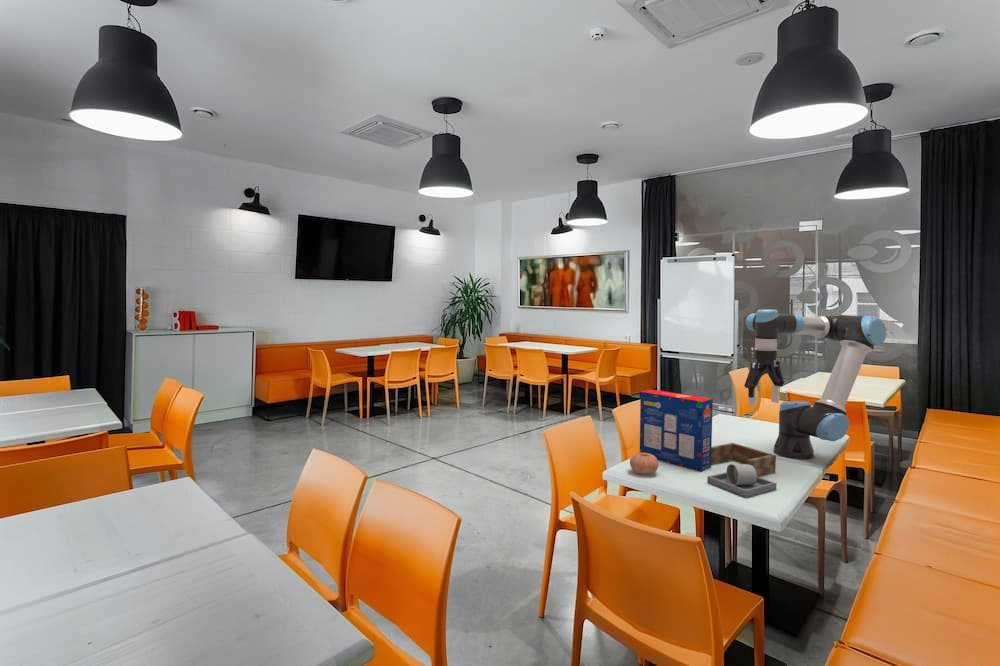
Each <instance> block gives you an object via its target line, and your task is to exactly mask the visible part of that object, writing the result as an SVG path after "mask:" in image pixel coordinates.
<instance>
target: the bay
mask: <svg viewBox="0 0 1000 666" xmlns="http://www.w3.org/2000/svg"><path fill="white" fill-rule="evenodd" d="M729 462H736V463H737V464H748V465H752V466H753V467H754V468H755V469H756V471H757V475H758V477H760V478H763V477H765V476H769V475H774V474H776V470H777V469H776V467H777V466H776V465H777V454H776V455H775V454H772V453H769V452H765V451H763V450H758V449H755V448H752V447H748V446H744V445H741V444H739V443H735V442H729V443H724V444H719V445H714V446H711V466H715V465H719V464H724V463H729Z"/></svg>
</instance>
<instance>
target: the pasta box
mask: <svg viewBox="0 0 1000 666" xmlns="http://www.w3.org/2000/svg"><path fill="white" fill-rule="evenodd" d="M639 399H640V401H639V403H640V407H639V408H640V409H639V414H640V415H639V453H649V454H652V455H654V456H655V457H656V458H657V460H658V462H662V463H666V464H670V465H673V466H677V467H679V468H680V467H681V468H683V469H688V470H690V471H695V472H699V473H702V472H705V471H706V470H709V469H711V468H712V465H711V447H713V446H712V443H713V442H712V441H713V436H712V435H713V403H714V402H713V400H714V399H713V398H710V397H702V396H696V395H691V394H682V393H677V392H671V391H664V390H658V389H647V390H646V389H645V390H641V391H640V397H639Z"/></svg>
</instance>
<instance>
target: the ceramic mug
mask: <svg viewBox="0 0 1000 666" xmlns="http://www.w3.org/2000/svg"><path fill="white" fill-rule="evenodd" d="M726 474H727V479H728V481H729V483H730V484H732V485H735V486H741V485H752V484H755V483H756V481H757V478H758V475H757V471H756V469H755V468H754V467H753V466H752V465H748V464H741V463H730V464H728V465H727V467H726Z"/></svg>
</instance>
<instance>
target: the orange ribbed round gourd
mask: <svg viewBox="0 0 1000 666" xmlns="http://www.w3.org/2000/svg"><path fill="white" fill-rule="evenodd" d="M629 465H630V468H631V469H632V471H634V472H635V473H637V474H639V475H645V476H646V475H648V476H649V475H651V474H654V473H655V472H657V470H658V468H659V461H658V460H657V458H656V457H655V456H654V455H652V454H649V453H640V452H637V453H634V454H633V455H632V456H631V457H630V459H629Z"/></svg>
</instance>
